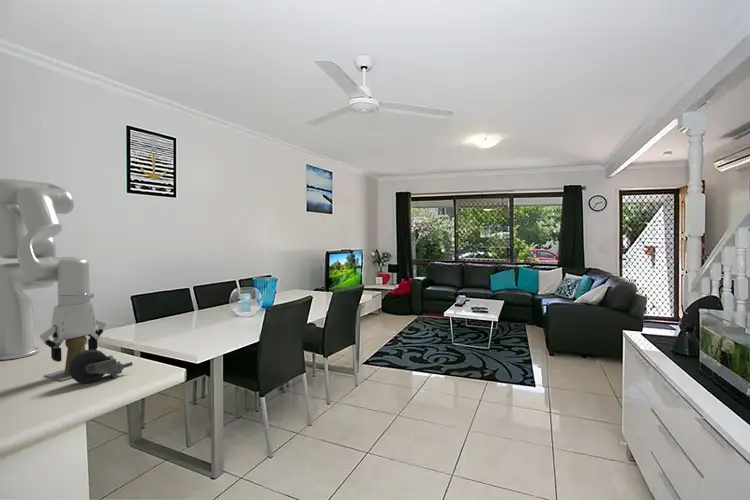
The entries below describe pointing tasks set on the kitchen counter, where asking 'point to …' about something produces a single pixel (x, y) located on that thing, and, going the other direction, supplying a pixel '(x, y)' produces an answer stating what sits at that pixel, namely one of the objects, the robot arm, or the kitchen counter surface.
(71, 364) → the caster wheel
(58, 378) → the mat
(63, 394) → the kitchen counter surface
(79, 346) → the cork
